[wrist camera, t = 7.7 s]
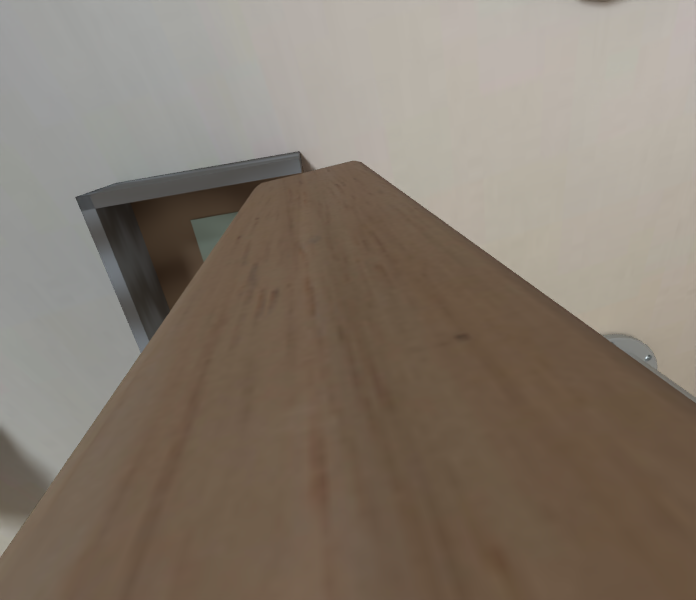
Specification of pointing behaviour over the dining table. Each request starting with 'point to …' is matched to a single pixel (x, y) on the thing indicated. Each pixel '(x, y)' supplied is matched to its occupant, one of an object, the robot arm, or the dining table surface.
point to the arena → (169, 230)
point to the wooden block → (368, 430)
